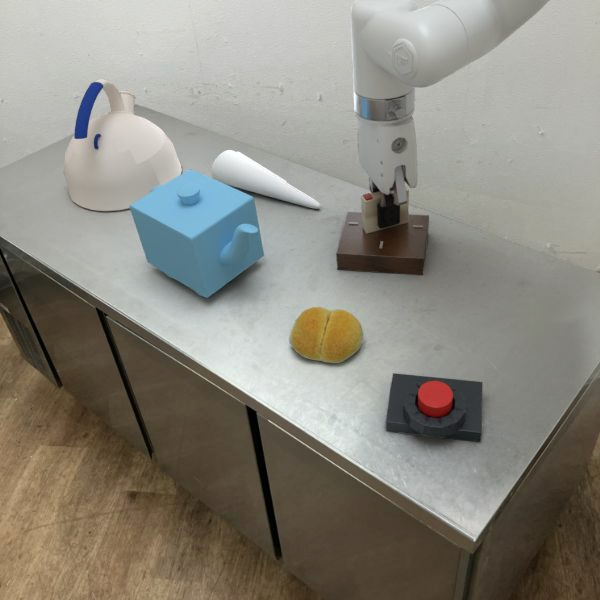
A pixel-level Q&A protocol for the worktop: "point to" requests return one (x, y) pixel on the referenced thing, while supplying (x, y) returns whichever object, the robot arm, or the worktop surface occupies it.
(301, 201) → the long cone
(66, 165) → the kettle
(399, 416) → the button block
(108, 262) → the worktop surface
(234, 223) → the teapot
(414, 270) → the panel
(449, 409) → the button
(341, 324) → the bread roll
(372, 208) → the handle
